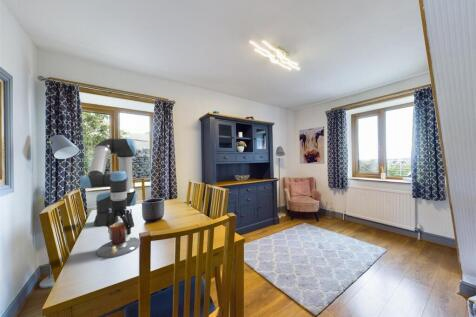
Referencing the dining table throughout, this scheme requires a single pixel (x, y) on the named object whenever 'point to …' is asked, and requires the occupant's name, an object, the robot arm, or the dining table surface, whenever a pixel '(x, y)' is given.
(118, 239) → the mug
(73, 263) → the dining table surface
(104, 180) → the robot arm
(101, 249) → the seat disc
